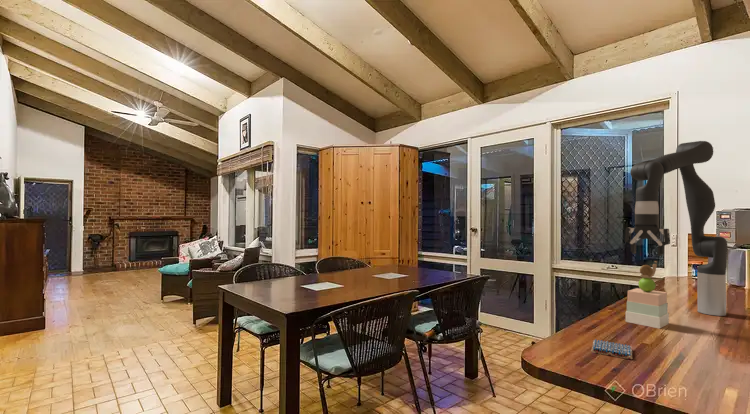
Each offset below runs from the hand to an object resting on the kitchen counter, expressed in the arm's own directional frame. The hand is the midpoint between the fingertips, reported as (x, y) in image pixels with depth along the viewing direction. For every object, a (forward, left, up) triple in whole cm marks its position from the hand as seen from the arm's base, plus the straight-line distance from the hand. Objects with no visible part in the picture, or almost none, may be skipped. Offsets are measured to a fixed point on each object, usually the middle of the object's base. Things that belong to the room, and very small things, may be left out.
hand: (646, 254), depth 147 cm
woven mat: (+46, +4, -27) cm, 54 cm away
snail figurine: (0, 0, -15) cm, 15 cm away
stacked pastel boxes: (0, 0, -26) cm, 26 cm away
